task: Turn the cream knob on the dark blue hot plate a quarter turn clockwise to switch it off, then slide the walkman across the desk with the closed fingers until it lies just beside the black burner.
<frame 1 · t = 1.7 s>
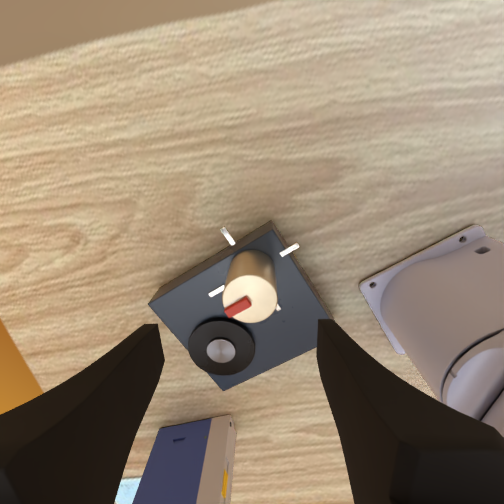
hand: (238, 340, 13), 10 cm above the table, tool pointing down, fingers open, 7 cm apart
burner: (222, 345, 22), resting on hot plate
walkman: (198, 428, 30), on the table
knob: (251, 284, 18), point 5 cm above the table, hinge at 0.0°
hot plate: (246, 303, 24), on the table
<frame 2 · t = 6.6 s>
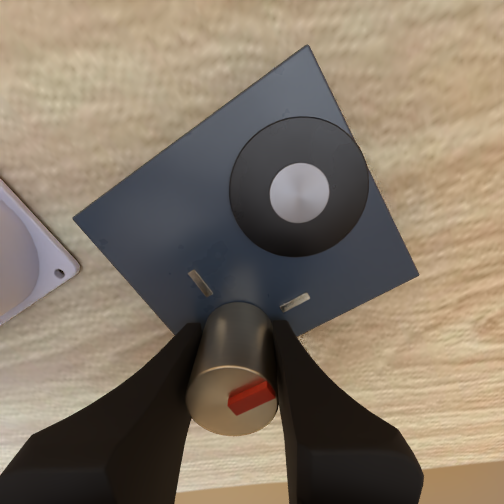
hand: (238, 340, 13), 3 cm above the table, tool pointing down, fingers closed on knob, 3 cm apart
burner: (296, 191, 11), resting on hot plate
knob: (235, 364, 11), point 5 cm above the table, hinge at 0.0°, touching gripper
hot plate: (251, 230, 14), on the table
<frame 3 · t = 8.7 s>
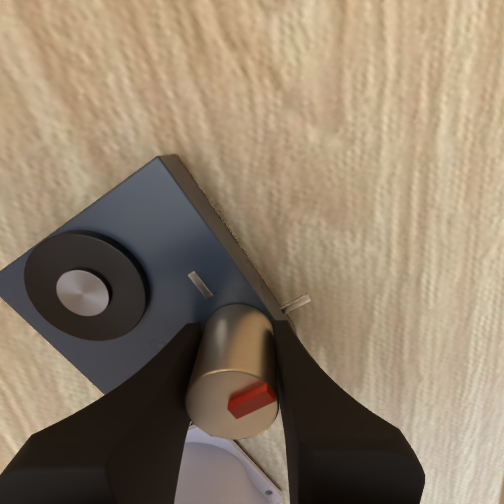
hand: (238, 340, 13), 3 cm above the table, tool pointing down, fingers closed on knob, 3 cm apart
burner: (91, 286, 13), resting on hot plate
knob: (235, 366, 11), point 5 cm above the table, hinge at -89.0°, touching gripper
hot plate: (165, 294, 16), on the table
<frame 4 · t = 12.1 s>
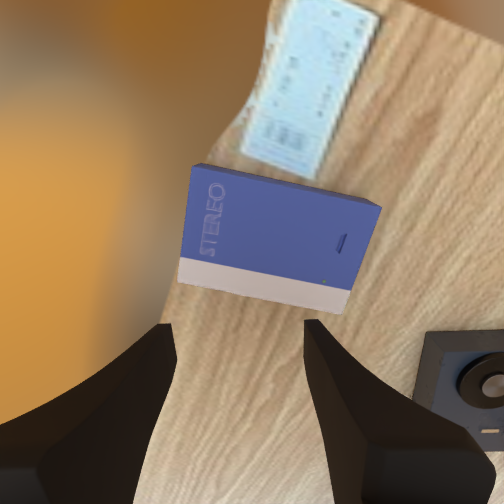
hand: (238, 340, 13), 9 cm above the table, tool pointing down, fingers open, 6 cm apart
burner: (490, 379, 22), resting on hot plate
walkman: (357, 257, 20), point 1 cm above the table
hot plate: (472, 381, 25), on the table
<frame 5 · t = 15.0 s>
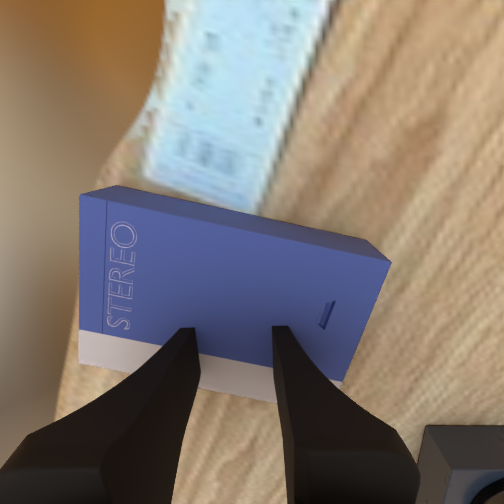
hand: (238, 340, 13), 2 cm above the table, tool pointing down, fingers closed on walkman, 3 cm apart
walkman: (353, 328, 13), point 1 cm above the table, touching gripper
hot plate: (491, 488, 18), on the table
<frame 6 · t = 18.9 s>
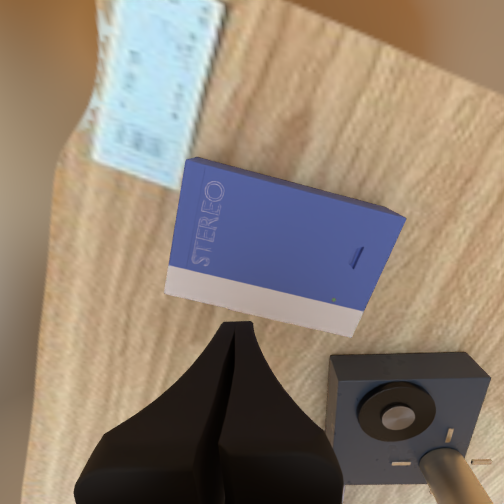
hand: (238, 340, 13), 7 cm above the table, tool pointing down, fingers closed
burner: (393, 409, 20), resting on hot plate
walkman: (372, 273, 17), point 1 cm above the table
knob: (459, 494, 20), point 5 cm above the table, hinge at -88.6°
hot plate: (388, 407, 23), on the table
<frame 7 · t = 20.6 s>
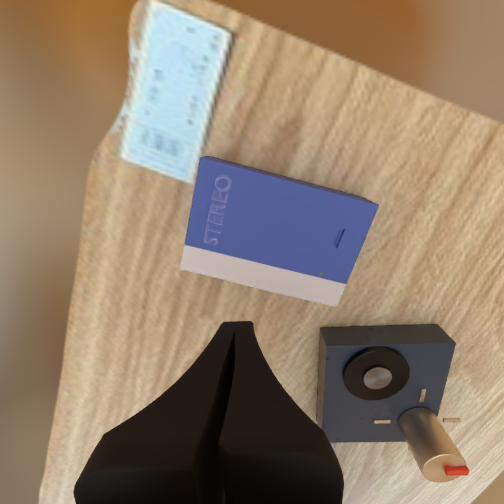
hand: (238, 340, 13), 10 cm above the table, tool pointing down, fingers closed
burner: (374, 372, 23), resting on hot plate
walkman: (353, 253, 21), point 1 cm above the table
knob: (430, 444, 23), point 5 cm above the table, hinge at -88.6°
hot plate: (371, 375, 27), on the table
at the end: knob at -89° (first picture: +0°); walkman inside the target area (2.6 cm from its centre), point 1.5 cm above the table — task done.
